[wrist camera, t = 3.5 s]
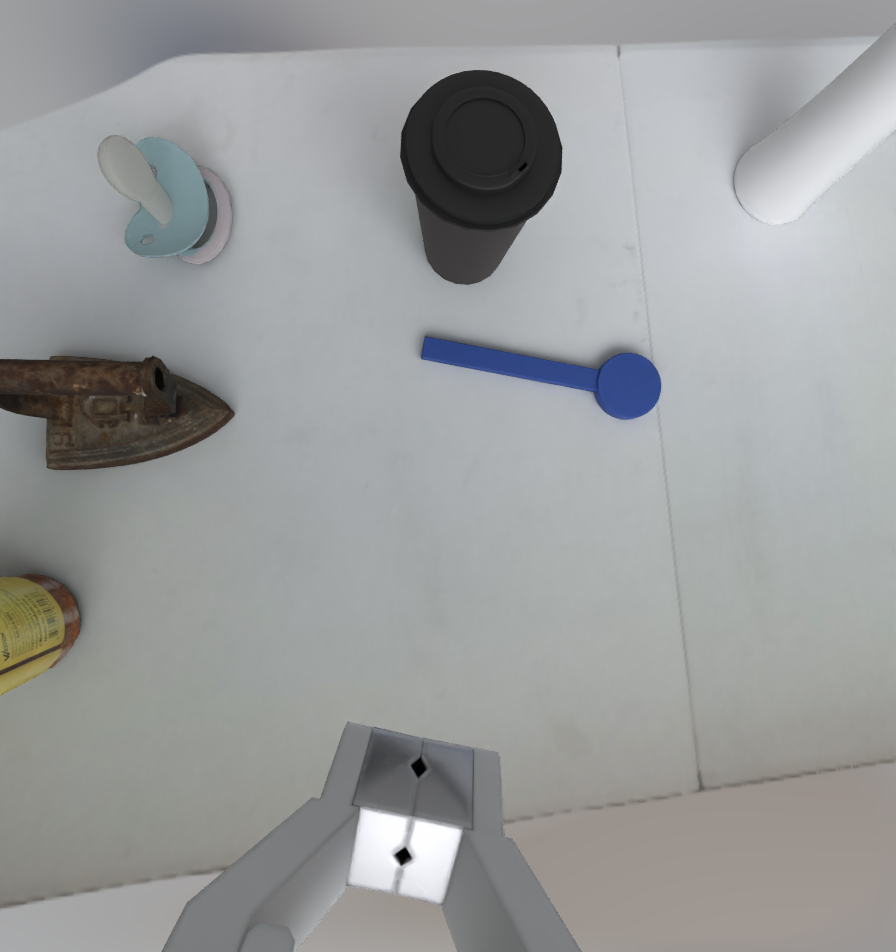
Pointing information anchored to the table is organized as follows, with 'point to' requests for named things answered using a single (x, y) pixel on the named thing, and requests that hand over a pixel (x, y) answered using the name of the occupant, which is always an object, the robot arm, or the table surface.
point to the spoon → (564, 374)
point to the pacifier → (166, 198)
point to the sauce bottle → (34, 627)
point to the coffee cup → (478, 168)
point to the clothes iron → (109, 409)
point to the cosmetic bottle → (821, 139)
